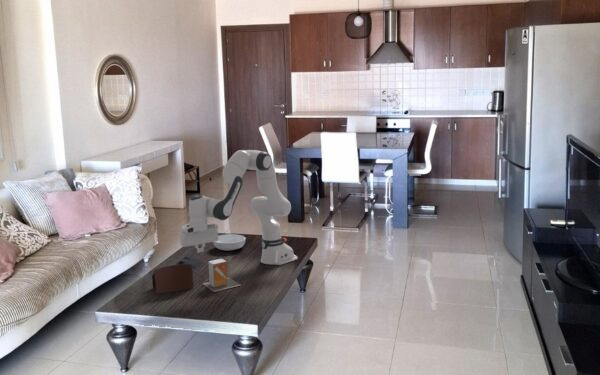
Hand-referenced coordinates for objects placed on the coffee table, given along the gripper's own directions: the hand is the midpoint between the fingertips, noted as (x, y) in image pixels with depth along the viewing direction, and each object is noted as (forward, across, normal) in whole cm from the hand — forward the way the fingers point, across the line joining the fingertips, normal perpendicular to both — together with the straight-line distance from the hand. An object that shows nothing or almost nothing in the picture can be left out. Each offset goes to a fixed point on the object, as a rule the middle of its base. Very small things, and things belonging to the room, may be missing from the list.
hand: (200, 252), depth 303 cm
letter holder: (+21, +12, -12) cm, 27 cm away
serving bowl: (+21, -43, -57) cm, 74 cm away
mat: (+21, -11, 0) cm, 23 cm away
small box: (+20, -10, -1) cm, 23 cm away
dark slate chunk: (+21, -6, -39) cm, 45 cm away
